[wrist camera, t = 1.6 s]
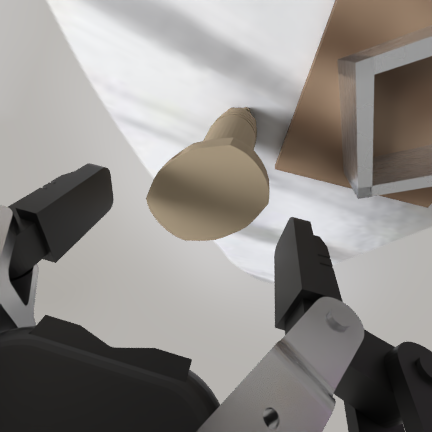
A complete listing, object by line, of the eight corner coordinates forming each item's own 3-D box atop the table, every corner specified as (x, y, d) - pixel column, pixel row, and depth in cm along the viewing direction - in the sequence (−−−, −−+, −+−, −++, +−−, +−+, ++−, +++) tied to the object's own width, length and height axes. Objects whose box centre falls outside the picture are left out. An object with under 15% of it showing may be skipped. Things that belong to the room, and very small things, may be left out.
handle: (280, 125, 22) (286, 211, 11) (227, 157, 26) (186, 252, 14) (255, 78, 21) (230, 120, 9) (201, 119, 24) (129, 191, 12)
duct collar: (337, 59, 18) (355, 62, 14) (492, 2, 15) (572, -14, 11) (343, 172, 23) (358, 198, 19) (459, 149, 20) (506, 174, 16)
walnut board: (394, -162, 13) (402, -175, 12) (705, -109, 12) (737, -121, 11) (275, 165, 25) (275, 169, 24) (422, 202, 24) (427, 207, 23)
